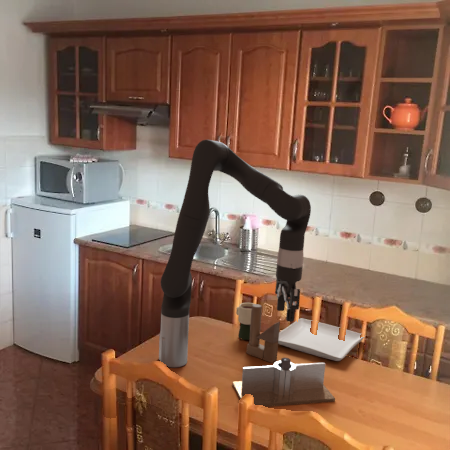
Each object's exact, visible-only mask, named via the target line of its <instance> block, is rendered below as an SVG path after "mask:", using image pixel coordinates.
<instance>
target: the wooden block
mask: <svg viewBox="0 0 450 450" xmlns="http://www.w3.org/2000/svg"><path fill="white" fill-rule="evenodd" d="M262 309H263V305H261V304H257V303H253V305H252V309H251V324H250V339H249V342H248V343H247V344H246V354H248V355H249V356H253V357H255V358H258V359H261V360H263V361H265V362H269V363H271V364H272V363H275V362H277V361H278V360H277V359H278V352H279V351H278V346H279V344H278V339H279V332H280V323H281V322H280V321H278V322H275V323H273V324H272V325H271V326H269V327H267V329H265V330H264V331H263V332H261V328H262V326H261V325H262V313H263V312H262V311H263V310H262ZM260 341H264V344H261V343H260Z"/></svg>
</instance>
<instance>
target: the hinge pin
mask: <svg viewBox="0 0 450 450" xmlns="http://www.w3.org/2000/svg"><path fill="white" fill-rule="evenodd" d="M280 361H281V368H284V369H289V368H290V362H292V361H291V359H290V358H288V357H282V358H281V360H280Z"/></svg>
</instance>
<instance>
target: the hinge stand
mask: <svg viewBox="0 0 450 450" xmlns="http://www.w3.org/2000/svg"><path fill="white" fill-rule="evenodd" d="M325 372H326V363H325V362H313V363H294V362H292V361H291V362H290V368H289V369H284V368H281V360H276V361H274V362H273V365H262V366H261V365H260V366H244V367H242V376H241V378H242V379H241V380H239V381H237V380H236V381H232V387H233V388H234V390H235V392H236V394H237V397H238V398H239V400H240V399H241V398H242V397H243V396H244V395H245V394H251V395H253V397H254V404H255V405H263V406H266V407H265V408H267V407H270V408H271V407H281V406H283V407H284V406H295V405H307V404H319V403H320V404H321V403H333V402H336V398H335V396H334V395H333V394H332V393H331V392H330V390H329V389H328V388H327V387H326V385H325V383H324V380H325Z"/></svg>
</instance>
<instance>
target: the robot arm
mask: <svg viewBox="0 0 450 450" xmlns="http://www.w3.org/2000/svg"><path fill="white" fill-rule="evenodd" d="M189 170H190V171H189V175H188V181H187V185H186V189H185V194H184V196H183V201H182V203H181V207H180V211H179V214H178V217H177V221H176V225H175V231H174V235H173V241H172V246H171V251H170V255H169V257H168V260H167V263H166V266H165V268H164V271H163V272H162V276H161V278H160V287H161V290H162V293H163V297H162V302H161V307H160V308H161V311H160V332H159V343H158V348H159V349H158V360H160V361H161V362H163V363H164V364H166V365H167V366H168V367H167V366H166V367H167V368H180V367H183V366H185V365H187V363H188V357H189V356H188V351H189V350H188V349H189V346H188V345H189V329H190V328H189V325H190V308H191V307H190V306H191V304H192V303H191V302H192V285H193V284H192V283H193V276H192V273H191V269H192V264H193V261H194V257H195V255H196V253H197V251H198V249H199V247H200V244H201V243H202V240H203V237H204V234H205V232H206V228H207V226H208V221H209V217H210V211H211V209H210V200H209V199H210V198H209V188H210V187H209V186H210V183H211V181H212V176H213V173H214V172H215V171H217V172H220V173H223V174H225V175H228V176H229V177H231V178H233V179H234V180H236V181H237V182H238V183H239V184H240V185H241V186H242V187H243V188H244V189H245V190H246V191H247V192H248V193H250V194H251V195H252V196H253V197H256V198H257V199H259V200H260V201H261V202H263V203H264V204H266V205H267V206H268V208H270V209H271V210H272V211H273V212H274V213H275V214H276V215H278V216H279V217H280V218H282V219H283V220H285V221H286V222H285V225H284V227H283V228H282V229H281V231H280V235H279V243H278V244H279V245H278V252H277V257H276V258H277V259H276V269H275V277H276V282H275V290H274V291H275V292H274V293H275V295H276V298H277V301H276V311H278V312H284V311H285V307H286V315H285V317H286V318H285V320H286V322H289V323H290V322H292V323H294V322H295V316H296V315H295V312H296V310H299V309H300V299H301V298H300V297H301V290H300V288H297V286H296V285H297V282H300V281H302V275H303V265H304V249H305V248H304V245H305V235H306V231H307V228H308V225H309V222H310V219H311V218H310V217H311V213H312V211H311V209H312V207H311V206H312V205H311V202H310V199H309V198H308V197H306V195H303V194H294V195H291V194H289V193H288V192H286V191H284V187H283V185H282V184H280V183H279V182H278V181H276V180H275V179H273V178H271V177H270V176H269V175H267V174H265V173H263V172H261V171H259V170H258V169H257V168H255V167H253V166H251V164H249V163H247V162H246V161H245V160H244V159H242V158H241V157H240V156H238V154H236V153H235V152H234V151H233V150H232V149H231V148H230V147H228V146H227V145H226V144H225V143H223V142H221V141H218V140H212V139H203V140H201V141H199V142H198V143H197V144H196V146H195V148H194V150H193V153H192V159H191V163H190V169H189ZM160 361H159V362H160Z"/></svg>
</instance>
